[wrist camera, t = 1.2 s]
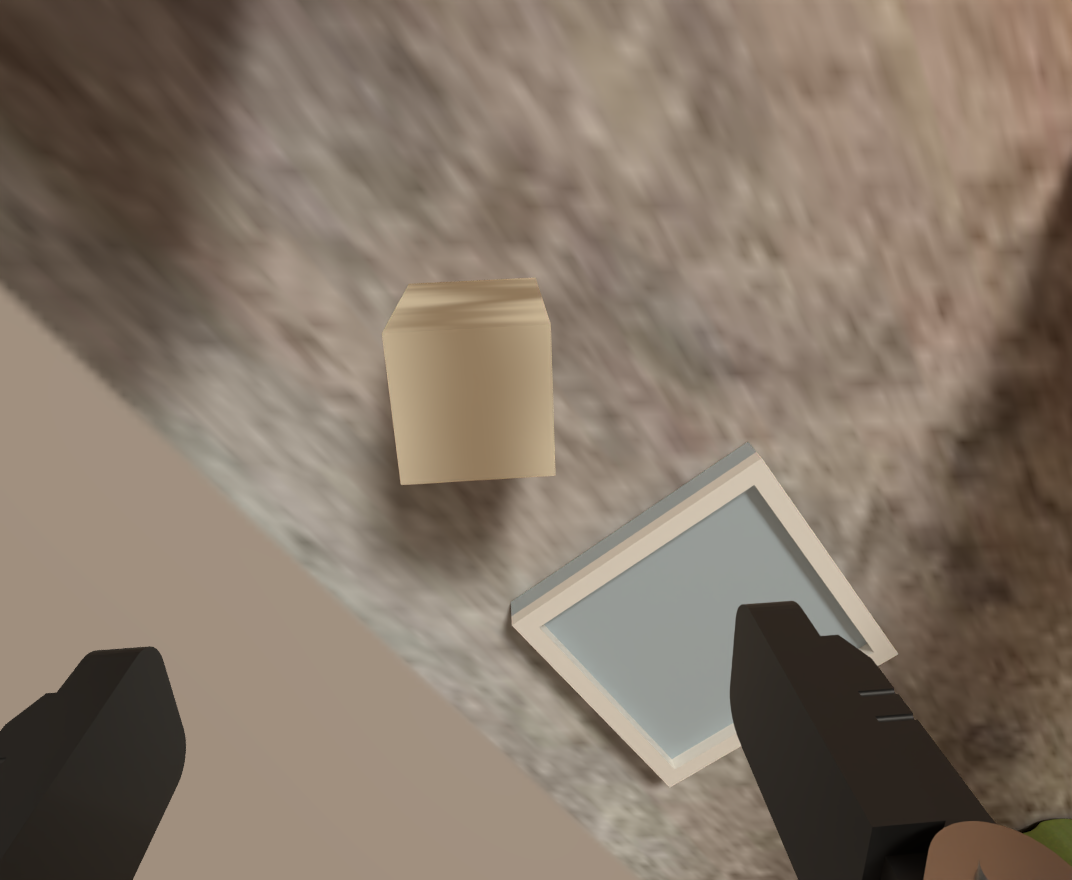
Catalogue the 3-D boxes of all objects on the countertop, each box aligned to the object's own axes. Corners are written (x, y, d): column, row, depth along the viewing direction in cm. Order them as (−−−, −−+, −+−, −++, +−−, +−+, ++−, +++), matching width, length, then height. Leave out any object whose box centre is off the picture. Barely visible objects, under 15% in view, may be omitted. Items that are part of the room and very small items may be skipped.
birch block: (535, 277, 26) (550, 324, 19) (539, 396, 27) (555, 475, 21) (408, 283, 26) (382, 333, 19) (421, 402, 27) (400, 485, 21)
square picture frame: (747, 441, 29) (761, 458, 27) (879, 630, 33) (898, 654, 31) (510, 602, 31) (511, 625, 29) (662, 760, 35) (669, 787, 34)
